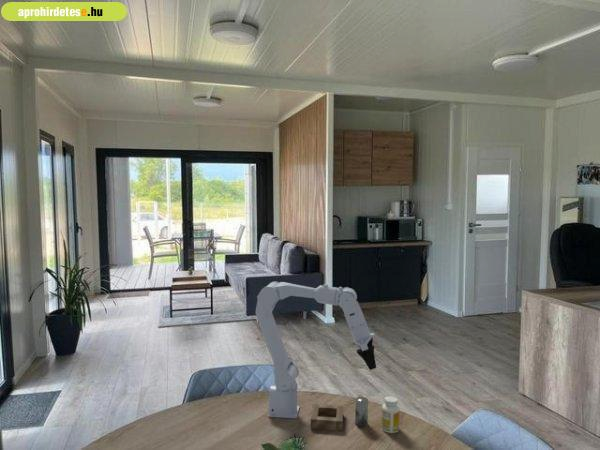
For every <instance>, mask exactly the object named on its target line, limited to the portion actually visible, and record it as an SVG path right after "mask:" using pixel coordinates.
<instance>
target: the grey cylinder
mask: <svg viewBox="0 0 600 450" xmlns="http://www.w3.org/2000/svg"><path fill="white" fill-rule="evenodd" d="M354 406H355V409H354V411H355V414H354V421H355V422H354V424H355V425H356V426H357V427H360V428H365V427H367V426H368V421H369V419H368V418H369V399H368V398H367V397H364V396H357V397H355V405H354Z"/></svg>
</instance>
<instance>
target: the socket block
mask: <svg viewBox="0 0 600 450" xmlns="http://www.w3.org/2000/svg"><path fill="white" fill-rule="evenodd" d="M311 410H312V411H311V415H310V429H315V430H325V431H327V430H328V431H339V432H340V431H341V432H342V431H343V426H344V423H343V422H344V420H343V419H344V406H343V405H332V404H320V403H313V404H312V408H311Z"/></svg>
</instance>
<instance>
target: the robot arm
mask: <svg viewBox="0 0 600 450" xmlns="http://www.w3.org/2000/svg"><path fill="white" fill-rule="evenodd" d="M291 296H292V297H300V298H309V299H314V300H315V301H316V302H317V304H318V303H319V304H324V305H330V306H331V305H332V306H339V307H340V308H341V309H342V311H343V313H344V314H343V315H344V318H345V321H346V323H347V325H348V328H349V330H350V331H349V332H350V334H351V337H352V339H353V343H354V344H355V345H357V346H358V347H359V349H356V354H358V356H359V357H360V358H361V359H363V361H364V362H365V364H366V366H367V367H368V369H369V370H370V371H371V370H374V369H377V364H376V357H375V345H373V339H374V337H375V336H376V335H375V333H374V332H370V331H371V330H370V329H369V327H368V323H367V321H366V318H365V316H364V314H363V313H364V312H363V311H362V308H361V307H360V303H359V301H358V300H357V299H358V295H357V292H356V291H355V289H353V288H350V287H348V286H345V287H342V286H339V287H336V286H335V287H334V286H329V285H328V283H324V284H323V285H321V284H320V285H319V286H317V287H316V288H315V287H312V286H311V287H310V286H306V285H301V284H300V285H299V284H294V283H290V282H285V281H280V282H279V281H272V282H270V283H268V284H267V285H266V286H264V287H263V288H262V289H260V292H259V293H258V294H257V296H256V299H257V301H256V305H255V306H256V307H255V317H256V319H257V322H258V324H259V327H260V330H261V332H262V335H263V337H264V340H265V343H266V346H267V349H268V351H269V354H270V356H271V359H272V362H273V365H272V366H273V369H272V372H273V375H274V384H273V385H270V387H269V393H268V417H270V418H280V419H281V418H284V419H286V418H287V419H297V418H298V415H299V411H300V405H298V382H297V380H296V379H297V377H298V376H299V373H300V372H299V368H298V366H297V365H296V364H295V363H294V362H293V360H292V357H290V356H289V355H288V353H287V350H286V348H285V344H284V341H283V338H282V335H281V334H280V330H279V328H278V325H277V323H276V320H275V318H274V315H273V310H274V309H275V307H276V304H277V303H278V302H279V301H282V300H285V299H286V298H288V297H291Z"/></svg>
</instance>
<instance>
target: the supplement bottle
mask: <svg viewBox="0 0 600 450" xmlns="http://www.w3.org/2000/svg"><path fill="white" fill-rule="evenodd" d="M400 410H401V409H400V406H399V405H398V398H397V397H394V396H391V395H390V396H386V397H384V403H383V404H382V405H381V429H382V430H383V431H384V432H386V433H388V434H396V433H398V432H399V431H400Z"/></svg>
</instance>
